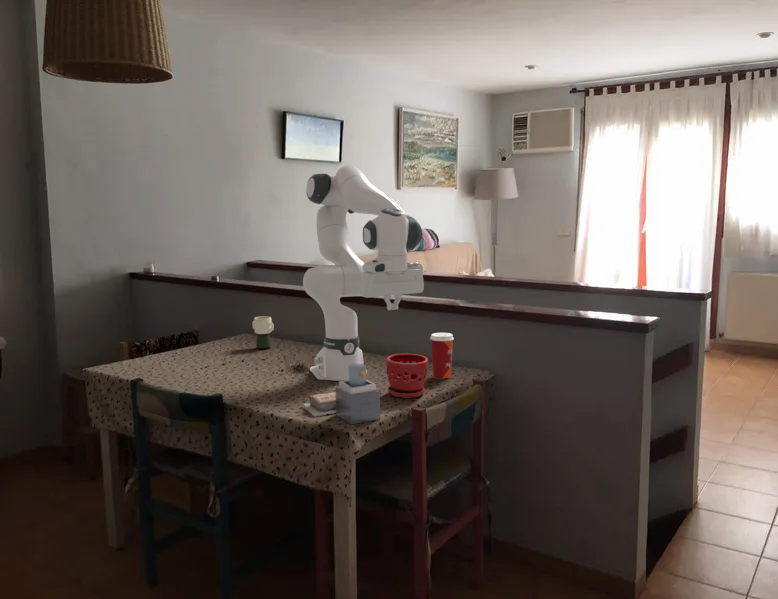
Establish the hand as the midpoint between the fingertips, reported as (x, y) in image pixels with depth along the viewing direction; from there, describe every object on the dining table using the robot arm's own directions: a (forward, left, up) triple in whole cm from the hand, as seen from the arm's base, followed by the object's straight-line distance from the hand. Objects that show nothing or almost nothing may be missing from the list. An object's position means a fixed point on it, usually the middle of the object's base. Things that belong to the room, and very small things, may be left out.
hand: (392, 309), depth 203 cm
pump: (+9, -17, -20) cm, 28 cm away
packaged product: (-2, -18, -29) cm, 34 cm away
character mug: (-92, -10, -28) cm, 97 cm away
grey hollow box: (+9, -17, -28) cm, 34 cm away
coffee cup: (-15, +28, -28) cm, 43 cm away
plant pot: (-3, +7, -28) cm, 29 cm away
